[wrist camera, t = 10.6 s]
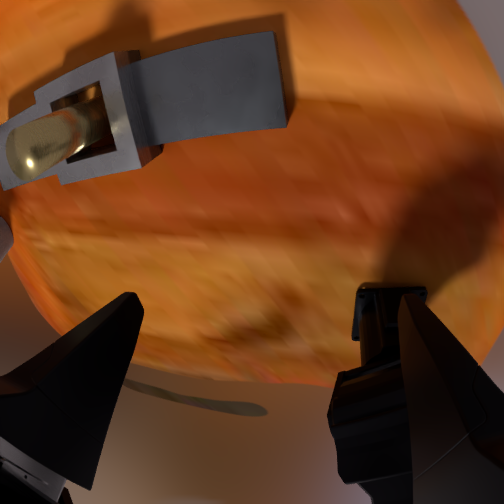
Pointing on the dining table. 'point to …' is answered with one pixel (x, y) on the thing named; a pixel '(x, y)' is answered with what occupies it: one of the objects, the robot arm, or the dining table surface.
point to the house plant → (5, 238)
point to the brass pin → (56, 137)
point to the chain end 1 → (118, 110)
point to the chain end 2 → (207, 90)
